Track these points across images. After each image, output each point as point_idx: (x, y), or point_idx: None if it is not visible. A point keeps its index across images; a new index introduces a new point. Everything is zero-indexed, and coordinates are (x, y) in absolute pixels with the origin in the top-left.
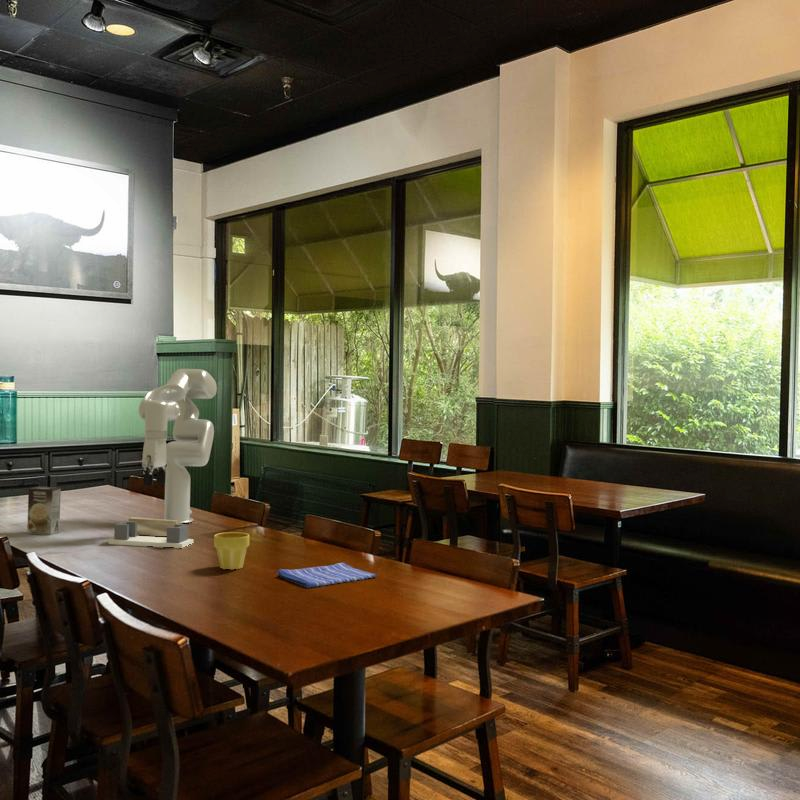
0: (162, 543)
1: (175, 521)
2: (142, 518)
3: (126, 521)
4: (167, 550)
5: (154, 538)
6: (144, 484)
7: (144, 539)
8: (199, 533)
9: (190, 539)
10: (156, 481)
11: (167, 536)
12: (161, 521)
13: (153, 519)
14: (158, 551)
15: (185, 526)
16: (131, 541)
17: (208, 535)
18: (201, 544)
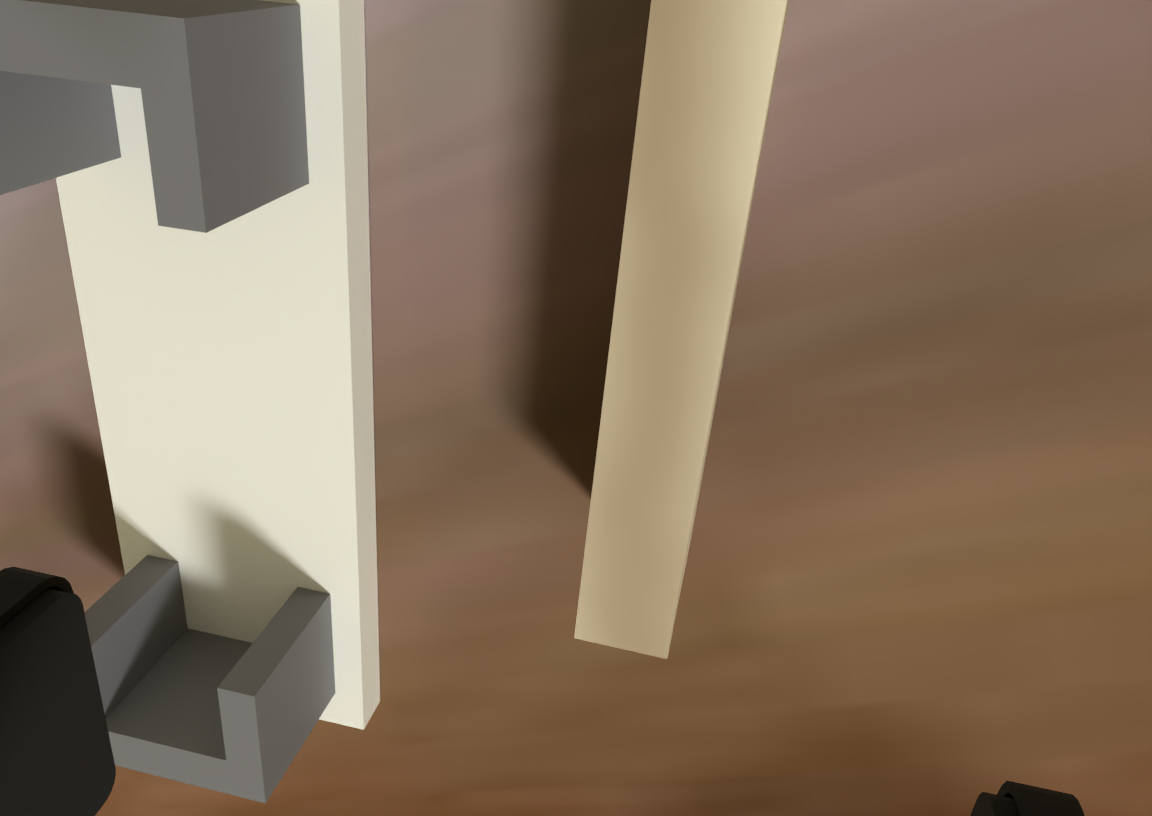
0: (120, 524)
1: (577, 628)
2: (716, 123)
3: (167, 59)
4: (67, 564)
5: (271, 409)
6: (4, 596)
7: (187, 327)
8: (913, 693)
9: (344, 710)
10: (1013, 797)
11: (111, 596)
12: (600, 451)
13: (654, 330)
14: (5, 510)
15: (200, 781)
16: (67, 220)
17: (803, 774)
18: (373, 755)
